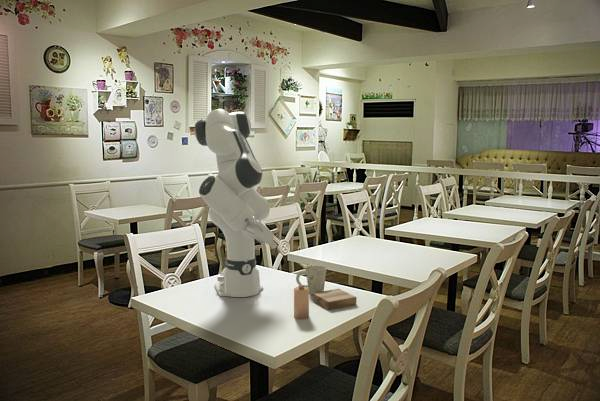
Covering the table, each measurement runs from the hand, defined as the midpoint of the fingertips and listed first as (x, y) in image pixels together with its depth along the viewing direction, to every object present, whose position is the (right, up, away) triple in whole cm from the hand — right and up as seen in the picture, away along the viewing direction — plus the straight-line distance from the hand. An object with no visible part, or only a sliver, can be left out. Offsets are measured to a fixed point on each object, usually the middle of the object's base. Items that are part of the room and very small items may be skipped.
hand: (268, 244), depth 166 cm
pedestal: (+23, -24, +24) cm, 41 cm away
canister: (+11, -26, +9) cm, 30 cm away
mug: (+15, -23, +37) cm, 46 cm away
